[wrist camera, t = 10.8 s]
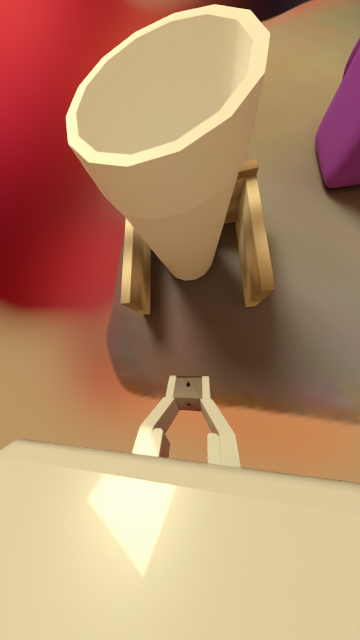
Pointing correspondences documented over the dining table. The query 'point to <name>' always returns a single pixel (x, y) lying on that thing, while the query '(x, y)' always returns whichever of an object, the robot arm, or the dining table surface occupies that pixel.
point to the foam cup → (173, 127)
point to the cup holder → (250, 247)
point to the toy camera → (342, 130)
